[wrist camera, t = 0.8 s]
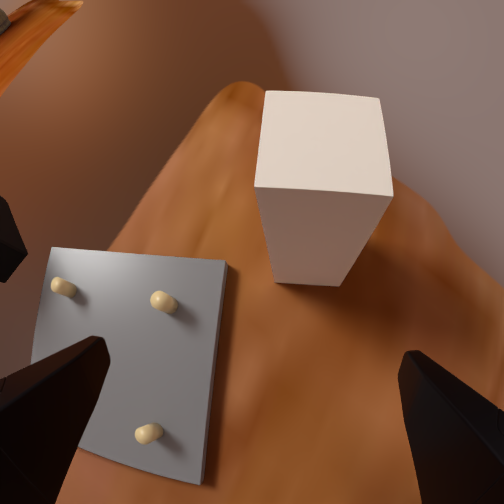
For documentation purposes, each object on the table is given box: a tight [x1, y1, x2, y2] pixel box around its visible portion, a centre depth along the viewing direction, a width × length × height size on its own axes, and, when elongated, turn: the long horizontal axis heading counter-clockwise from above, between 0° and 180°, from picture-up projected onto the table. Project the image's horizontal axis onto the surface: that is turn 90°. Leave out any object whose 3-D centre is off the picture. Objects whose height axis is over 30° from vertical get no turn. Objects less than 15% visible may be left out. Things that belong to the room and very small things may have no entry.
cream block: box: [254, 91, 393, 287], centre depth 17 cm, size 4×4×13 cm
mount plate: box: [31, 247, 228, 485], centre depth 20 cm, size 16×16×3 cm
